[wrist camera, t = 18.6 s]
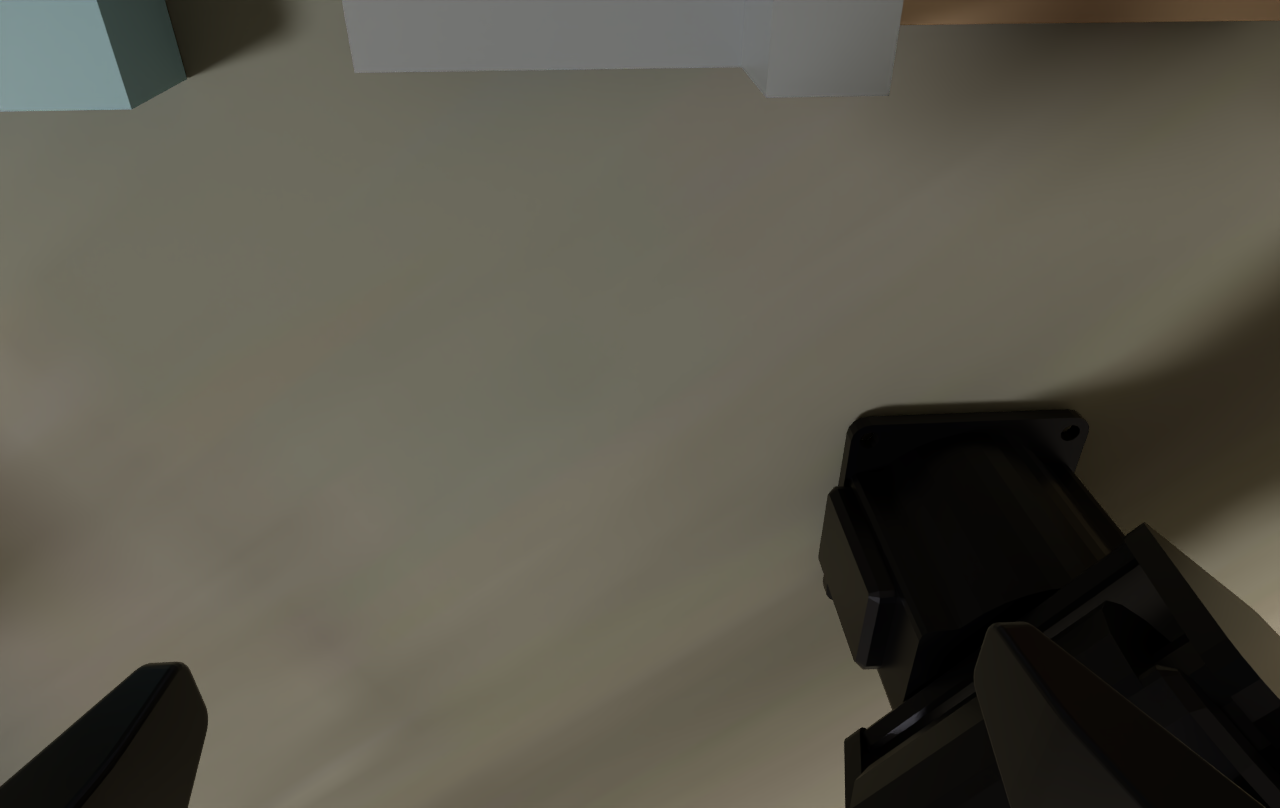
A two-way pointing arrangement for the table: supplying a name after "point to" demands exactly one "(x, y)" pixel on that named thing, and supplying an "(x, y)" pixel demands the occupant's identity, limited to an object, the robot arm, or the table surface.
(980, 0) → the plate
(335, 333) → the table surface
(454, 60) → the sliding cover
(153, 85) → the socket board
